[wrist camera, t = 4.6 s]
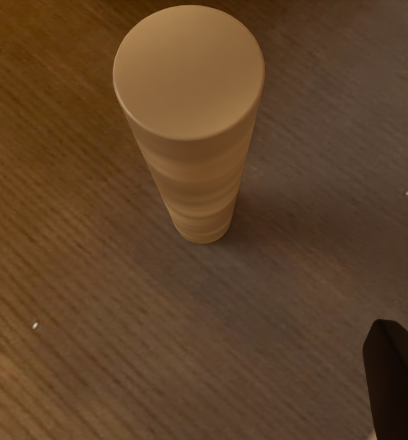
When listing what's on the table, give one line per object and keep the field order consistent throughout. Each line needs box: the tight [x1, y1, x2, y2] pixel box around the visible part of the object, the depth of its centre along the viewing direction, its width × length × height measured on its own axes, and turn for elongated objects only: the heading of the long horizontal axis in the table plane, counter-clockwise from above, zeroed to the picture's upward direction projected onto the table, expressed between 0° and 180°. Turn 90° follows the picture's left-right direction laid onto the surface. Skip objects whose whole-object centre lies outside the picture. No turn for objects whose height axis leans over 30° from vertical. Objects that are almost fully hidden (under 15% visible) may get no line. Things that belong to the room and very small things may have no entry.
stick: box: [113, 5, 265, 244], centre depth 14 cm, size 3×3×13 cm
